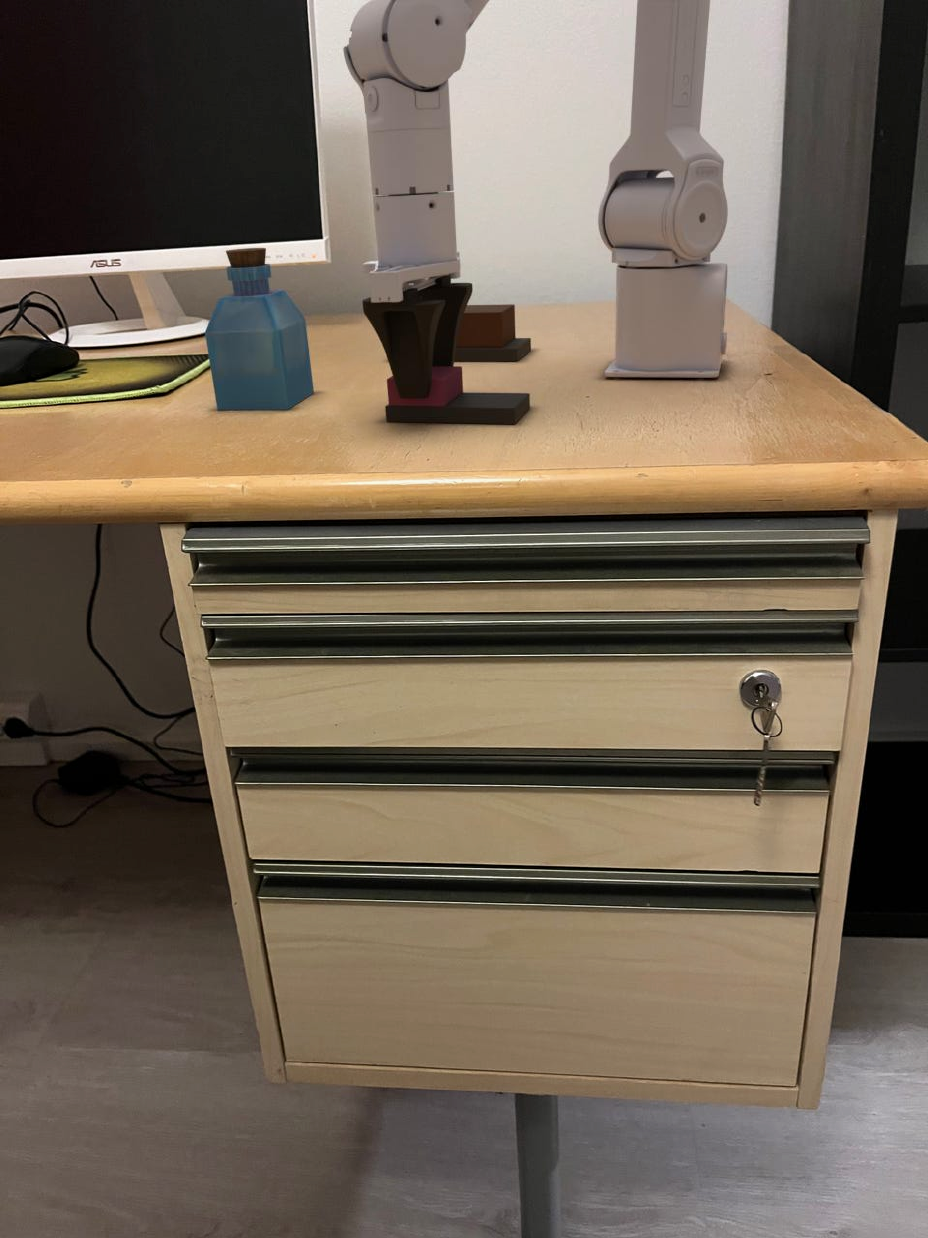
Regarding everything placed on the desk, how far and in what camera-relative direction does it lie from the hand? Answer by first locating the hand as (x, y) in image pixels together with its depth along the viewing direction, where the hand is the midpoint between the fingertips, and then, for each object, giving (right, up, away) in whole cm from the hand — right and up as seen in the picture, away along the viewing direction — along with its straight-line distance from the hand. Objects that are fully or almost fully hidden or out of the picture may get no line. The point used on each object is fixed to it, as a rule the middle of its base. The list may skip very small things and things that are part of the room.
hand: (426, 389), depth 73 cm
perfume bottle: (-14, +1, +8) cm, 16 cm away
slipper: (+3, -2, 0) cm, 3 cm away
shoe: (+3, +9, +23) cm, 25 cm away
